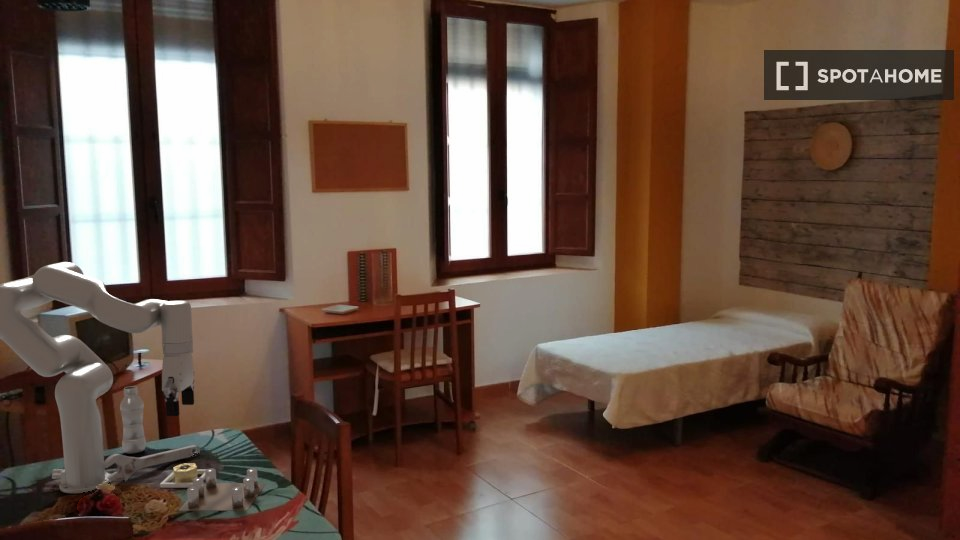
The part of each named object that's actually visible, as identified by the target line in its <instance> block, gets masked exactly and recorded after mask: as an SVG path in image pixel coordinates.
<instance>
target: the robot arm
mask: <svg viewBox="0 0 960 540" xmlns="http://www.w3.org/2000/svg"><path fill="white" fill-rule="evenodd" d="M53 301H58V302H61V303H63V304H65V305H69V306H72V307H74V308H78V309H80V310H83V311H85V312H87V313H89V314H90V315H91V317H93V318H95V319H96V320H98V321H99V322H100V323H102V324H104V325H106V326H108V327H111V328H114V329H117V330H120V331H122V332H126V333H130V334H142V333H145V332H147V331H149V330H151V329H154V328H157V327H159V326H161V344H162V345H161V346H162V355H163V357H162V364H161V365H162V366H161V391H162V392H163V397H164V401H165V412H166V416H167V417H179V416H180V401H179V400H178V399H179V394H181V404H182V405H183V406H193V405H194V404H195V392H194V391H195V390H194V389H195V385H194V383H195V371H194V362H193V355H192V353H193V352H194V341H193V339H194V337H193V321H192V320H193V318H192V306H191V305H192V304H191V303H190V302H189V301H187V300H169V301H168V300H162V299H157V298H156V299H155V298H150V299H144V300H142V301H139V302H136V303H132V302H127V301H125V300H122V299H119V298H118V297H115V296H113V295H111V294H109V293H108V291H107V289H106V284H105V283H104V282H103V281H102V280H99V279H96V278H93V277H90V276H88V275H84V272H83V270H82V268H80V267H79V265H77V264H76V263H74V262H70V261H69V262H68V261H61V262H56V263H52V264H47V265H44V266H42V267H40V268H38V269H37V271H35V273H34V274H32V275H29V276H27V277H24V278H20V279H16V280H11V281H7V282H2V283H0V340H1V341H2V342H4V343H5V344H6V345H7V346H8V347H9V348H10V349H11V350H12V351H13V352H14V353H15V354H16V355H17V356H18V357H19V358H20V359H22V361H24V363H26V364H27V365H28V366H29V367H30V369H32V370H33V371H34V372H35V373H37V375H39V376H42V377H44V378H50V377H51V378H52V377H55V376H57V375H59V374H62V373H63V372H64V373H65V375H63V376H62V377H60V379H59V380H58V381H57V383H56V385H55V388H54V389H55V390H54V397H55V401H56V405H57V409H58V414H59V418H60V419H59V420H60V427H61V438H62V439H61V440H62V450H63V463H64V465H63V466H64V468H54V469H52V471H51V480H52V479H53V480H59V479H60V480H61V482H60V483H59V484H58V485H59V490H60V492H62V493H65V494H83V492H85V493H89V492H88V491H90V492H93V491H92V490H94V489H95V488H96V486H97V485H98V484H101V483H106V482H110V483H111V482H112V480H108V478H107V477H108V476H109V475H110V474H111V473H110V472H108V471H107V472H106V470H105V469H106V468H104V467H103V463H104V461H105V454H104V440H103V439H104V438H103V427H102V425H103V424H102V417H101V412H100V408H99V407H98V403H97V401H96V400H97V398H99V397H100V396H102V395H104V394H105V393H106V392H108V391H109V390H110V389H111V387H112V386H113V383H114V375H113V372H112V370H111V369H110V367H109V365H108V364H106V363H105V362H104V361H103V360H102V359H101V358H100V357H99V356H98V355H97V354H96V353H95V352H94V351H93V350H92V349H91V348H90V347H89V346H88V345H87V344H86V343H84V342H83V341H82V340H81V339H79V338H78V337H76V336H74V335H69V334H59V335H57V336H54V337H52V336H51V335H50V334H48V333H47V332H46V331H45V330H44V329H43V328H42V327H41V326H40V325H39V324H38V323H37V322H34V320H32V319H30V318H28V317H26V316H24V315H23V314H22V313H23V312H26V311H29V310H31V309H35V308H38V307H40V306H43V305H45V304H47V303H50V302H53ZM94 491H95V490H94Z"/></svg>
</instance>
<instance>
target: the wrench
mask: <svg viewBox="0 0 960 540" xmlns="http://www.w3.org/2000/svg"><path fill="white" fill-rule="evenodd" d="M194 449H195V451H194V452H193V450H194ZM193 453H197V454H198V453H199V454H201V448H200V446H198V445H195V444H191V445H188V446H184V447H179V448H175V449H170V450H167V451H162V452H157V453H153V454H149V455H144V456H141V457H135V456H127V455H123V454H121V453H114V454H110V455H109V456H108V457H107V458H106V459H104V463H103V467H104V468H105V469H108V468H109V467H111V466H112V465H113V464H115V465H116V466H117V467H116V471H114V472H113V473H112V472H111V473H109V474H110V475H109V476H108V477H107V478H108V480H112V481H114V482H119V481H123V480H125V481H124V482H127V481H129V480H130V477H131V476H132V475H133V474H135V473H136V472H137V471H139V470H141V469H144V468H148V467H152V466H156V465H161V464H165V463H169V462H175V461H178V460H183V459H189V458H192V457H194V456H193V455H194V454H193ZM199 454H198V455H199ZM191 456H192V457H191ZM128 479H129V480H128ZM126 480H127V481H126ZM112 481H111V482H112Z"/></svg>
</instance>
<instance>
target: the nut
mask: <svg viewBox="0 0 960 540" xmlns="http://www.w3.org/2000/svg"><path fill="white" fill-rule="evenodd" d="M172 469H173V470H172V472H173V474H174V478H173V481H174V482H173V483H193V479H195V478H199V477H198V474H197V469H198V466H197V464H196V463H195V462H193V463H189V462H188V463H186V462H185V463H184V462H182V463H180V464H178V465H176V466H173V468H172Z"/></svg>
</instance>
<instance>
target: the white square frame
mask: <svg viewBox="0 0 960 540" xmlns="http://www.w3.org/2000/svg"><path fill="white" fill-rule="evenodd" d="M207 469H208V468H207ZM207 469H205V468H204V469H201V468H200V469H198V468H197V475H201V476H200V477H201V478H203V482H204V481H206V478H205V470H207ZM172 480H174V474H173V471H172V472H171V473H170V474H169V475H168V476H167V477H166V478H164V480H162V481H161V482H160V484H159V487H160V489H161V488H166V489H168V488H170V489H172V488H173V489H175V488H178V489H179V488H180V489H182V488H184V489H186V488H187V489H188V488H191V487H193V482H192V483H175V482H171V481H172Z"/></svg>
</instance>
